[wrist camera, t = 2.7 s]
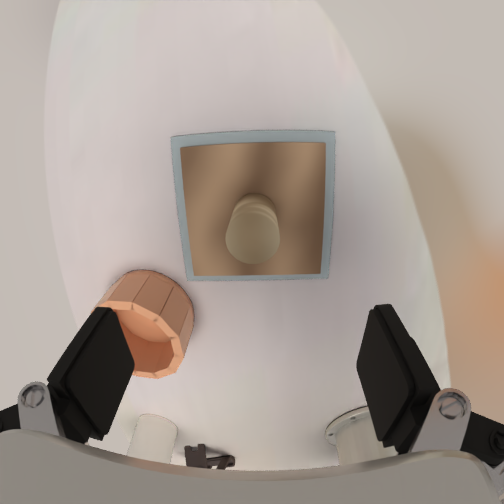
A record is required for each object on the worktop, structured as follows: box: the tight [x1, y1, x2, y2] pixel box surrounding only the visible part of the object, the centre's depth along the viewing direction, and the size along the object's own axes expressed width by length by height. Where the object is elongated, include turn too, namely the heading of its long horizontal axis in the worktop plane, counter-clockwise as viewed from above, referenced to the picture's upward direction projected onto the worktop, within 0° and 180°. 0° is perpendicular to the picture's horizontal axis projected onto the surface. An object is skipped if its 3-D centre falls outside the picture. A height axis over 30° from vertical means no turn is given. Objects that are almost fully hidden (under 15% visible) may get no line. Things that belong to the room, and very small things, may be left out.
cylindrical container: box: [127, 414, 178, 464], centre depth 31 cm, size 7×7×25 cm
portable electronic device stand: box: [184, 444, 235, 470], centre depth 42 cm, size 9×8×8 cm
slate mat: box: [171, 130, 335, 281], centre depth 26 cm, size 14×14×1 cm
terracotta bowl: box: [91, 270, 194, 379], centre depth 28 cm, size 10×10×6 cm
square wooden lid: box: [180, 142, 326, 276], centre depth 22 cm, size 12×12×7 cm
